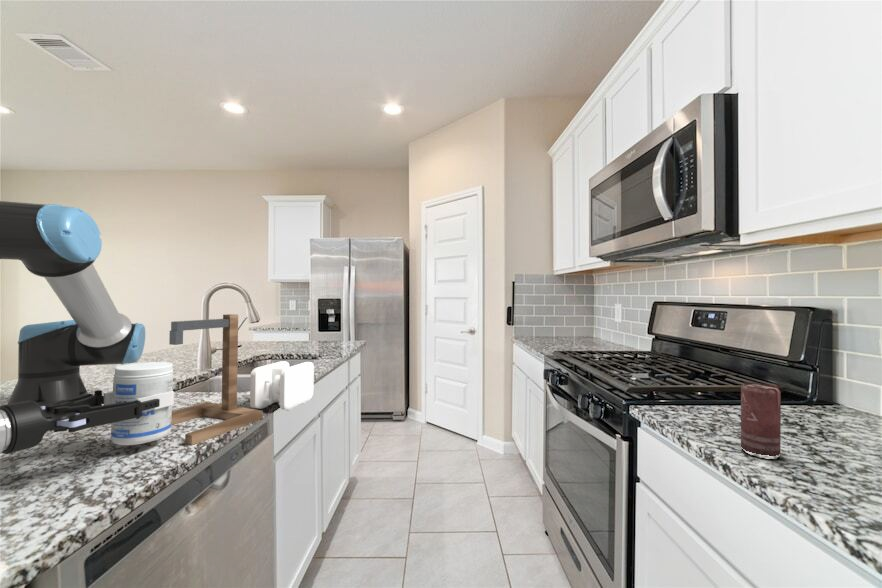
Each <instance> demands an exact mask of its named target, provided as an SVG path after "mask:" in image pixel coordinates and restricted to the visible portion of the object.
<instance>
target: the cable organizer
mask: <svg viewBox="0 0 882 588" xmlns="http://www.w3.org/2000/svg"><path fill="white" fill-rule="evenodd" d="M314 374H315V364H314V363H313V362H311V361H304V362H301V363H298V364H294V365H291V366H290V363H289V362H288V361H284V360H280V361H276V362H272V363H268V364H265V365H261V366H258V367H255V368H253V369H252V370H251V372H250V378H249V379H250V381H249V382H250V385H249V405H250V407H251V409H258V410H261V409H264V408H267V407H269V406H272V404H274V403H278V405H279V408H280V409H281V410H285V411H286V412H289V411H292V410H294V409H295V408H296V407H297V406H300V405H305V404H306V403H308V402H310V400H311V399H312V397H314V390H315V389H314V388H315V387H314V385H315V384H314V383H315V379H314V378H315V375H314Z"/></svg>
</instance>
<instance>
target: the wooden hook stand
mask: <svg viewBox="0 0 882 588" xmlns="http://www.w3.org/2000/svg"><path fill="white" fill-rule="evenodd" d="M222 315H223V316H222V319H229V327H222V354H221V355H222V358H221V359H222V361H221V362H222V363H221V364H222V365H221V366H222V368H221V403H215V402H209V401H205V402H201V403H197V404H194V405H190V406H187V407H182V408H179V409H175V410H172V418H171V426H173V425H176V424H179V423H182V422H186V421H189V420H192V419H195V418H199V417H202V415H203V417H210V418H214V419H220V420H222V421H221V422H217V423H214V424H211V425H209V426H206V427H202V428H199V429H197V430H194V431H191V432H188V433H185V435H184V436H185V438H184V443H185V444H184V445H189V446H194V445H197V444H199V443H201V442H205V441H207V440H209V439H212V438H215V437H218V436H220V435H223V434H226V433H228V432H232V431H233V430H237V429H239V428H242V427H244V426H247V425H250V424H252V423H255V422H257V421H260V420H263V410H261V409H255V408H247V407H241V406H238V360H239V359H238V355H239V351H238V350H239V349H238V348H239V347H238V346H239V314H235V313H233V314H232V313H231V314H230V313H229V314H222Z"/></svg>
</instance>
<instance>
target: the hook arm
mask: <svg viewBox="0 0 882 588" xmlns="http://www.w3.org/2000/svg"><path fill="white" fill-rule="evenodd" d="M223 327H229V319H223V318H216V319H215V318H212V319H211V318H209V319H195V320H194V319H193V320H192V319H191V320H176V321H171V322H170V330H169V338H168V339H169V345H173V346H177V345H184V331H193V330H194V331H195V330H207V329H220V328H222V329H223Z"/></svg>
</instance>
